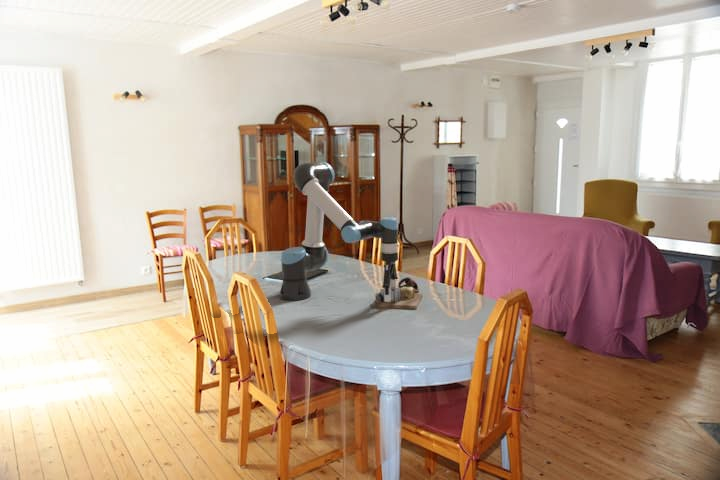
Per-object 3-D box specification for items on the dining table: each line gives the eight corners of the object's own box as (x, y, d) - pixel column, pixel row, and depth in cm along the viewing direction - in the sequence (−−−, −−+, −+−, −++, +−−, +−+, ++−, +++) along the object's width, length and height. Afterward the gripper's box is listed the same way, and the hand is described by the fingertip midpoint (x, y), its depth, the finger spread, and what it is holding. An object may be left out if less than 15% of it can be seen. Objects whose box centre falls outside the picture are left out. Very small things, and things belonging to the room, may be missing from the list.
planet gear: (379, 302, 253) (378, 291, 252) (383, 297, 262) (382, 286, 261) (398, 303, 251) (398, 292, 250) (402, 297, 260) (401, 287, 259)
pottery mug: (421, 295, 271) (413, 282, 268) (403, 303, 273) (396, 290, 270) (419, 282, 282) (411, 270, 279) (402, 290, 284) (395, 278, 281)
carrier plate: (372, 306, 252) (372, 294, 251) (381, 294, 271) (381, 282, 270) (416, 309, 247) (416, 296, 246) (422, 296, 266) (422, 284, 265)
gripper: (392, 257, 240) (393, 305, 243) (402, 246, 263) (403, 290, 267) (375, 257, 242) (376, 304, 245) (386, 246, 265) (387, 289, 269)
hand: (390, 297), depth 256 cm, fingers open, 13 cm apart
